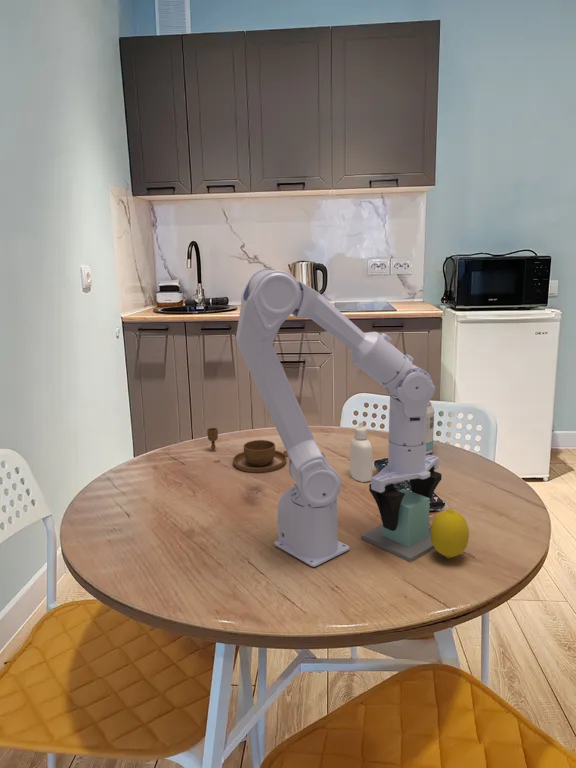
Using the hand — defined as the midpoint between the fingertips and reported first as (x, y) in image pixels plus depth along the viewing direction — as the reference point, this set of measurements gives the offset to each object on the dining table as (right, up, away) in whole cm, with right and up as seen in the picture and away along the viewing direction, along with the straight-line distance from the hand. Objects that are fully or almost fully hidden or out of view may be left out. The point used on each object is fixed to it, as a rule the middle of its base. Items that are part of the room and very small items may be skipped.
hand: (404, 520), depth 93 cm
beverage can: (+11, +6, +40) cm, 42 cm away
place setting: (-27, +4, +39) cm, 48 cm away
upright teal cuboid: (0, -3, +1) cm, 3 cm away
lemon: (+6, -5, -5) cm, 9 cm away
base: (0, -3, +1) cm, 3 cm away
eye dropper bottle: (-4, +2, +26) cm, 27 cm away
